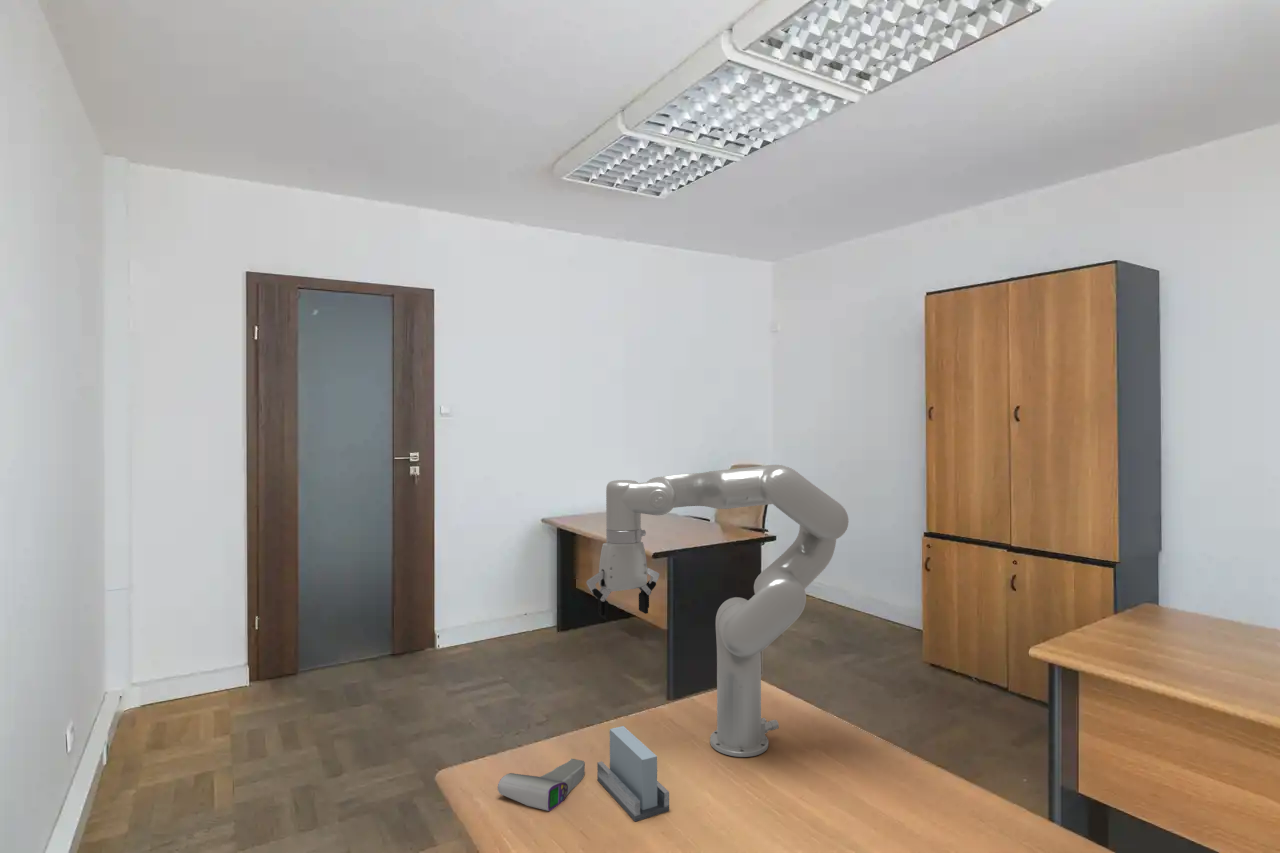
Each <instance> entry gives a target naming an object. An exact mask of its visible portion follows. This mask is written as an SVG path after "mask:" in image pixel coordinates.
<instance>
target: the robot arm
mask: <svg viewBox="0 0 1280 853" xmlns="http://www.w3.org/2000/svg"><path fill="white" fill-rule="evenodd" d="M605 490H606V491H605V492H606V493H605V494H606V495H605V497H606V500H605V501H606V502H605V506H606V507H605V508H606V510H605V511H606V512H605V514H606V516H605V517H606V518H605V519H606V520H605V522H606V530H605V531H606V534H605V535H606V542H604V543H602V547H601V552H600V557H599V558H600V559H599V567H598V573H596V574H595V575H593V576H592V577H590V578H589V579H587V580H586V582H585V583H586V585H587V588H588V590H590V593H591V594H592V595H593V596H594V597H595V599H597V612H598V613H597V614H598V615H599V618H601V619H603V620H605V621H606V620H607V621H608V620H609V601H608V597H609V596H610V594H611V592H619V591H627V590H633V589H638V590H640V592H639V593H638V610H639V612H641V613H643V614H649V608H650V595H652V591H653V590H654V589H655V587H656V586H657V581H658V580H659V577H660V573H659V572H658V571H655V570H653V569H651V568H649V567H648V566H647V565H648V564H647V555H646V550H645V545H644V542H642V537H645V536H646V535H647V532H646V530H645V529H642V528H641V527H642V523H641V522H642V521H641V518H642V516H641V515H642V514H644V515H648V516H649V515H650V516H664V515H666V514H667V515H668V514H669V513H670V512H671V511H672V510H673V509H675V508H685V507H706V508H707V507H708V508H710V509H711V508H712V509H718V510H720V509H721V510H729V509H739V508H746V507H754V506H765V505H766V506H767V505H768V506H769V505H773V506H774V507H776V508H777V509H778V510H779V511H781V512H782V513H784V515H786V516H787V517H788V518H790V519H791V520H792V521H793V522H795V523H796V524H798V525H799V529H798V534H797V537H796V538H795V540H794V541H793V543H792V544H791V545H790V546H789V547H788V548H787V549H786V550H785V551H784V552H783V553H782V554H781V555H779V557H778V558H776V559H775V560H774V561H773V562H772V563H771V564H770V565H769V566H767V567H766V568H765V569H764V570H763V571H761V572H760V574H758V576H757V577H756V579H755V580H754V583H753V592H754V595H752V596H751V598H749V599H747V598H743V597H737V596H735V597H730V598H728V599H726V600H725V601H724V602H722V604H721V605H720V606H719V608H718V609H717V612H716V616H715V637H716V710H717V711H716V724H717V725H716V726H717V727H716V729H715V730H714V731H713V732H712V733H711V734H710V737H709V743H710V745H711V747H712V748H713V749H714V750H715V751H717V752H719V753H720V754H723V755H726V756H731V757H737V758H749V757H755V756H758V755H761V754H763V753H765V751H767V750H768V748H769V738H768V736H766V734H767V733H768V732H770V731H774V730H778V729H779V726H780V723H779V722H778V720H777V719H772V720H768V721H767V719H766V717H762V651H764V650H765V649H766V648H768V646H770V645H772V643H773V642H774V641H776V639H778V638H779V637H780V636H781V635H782V634H783V633H785V632H786V631H787V629H789V627H790V626H792V625H793V624H794V623H795V622H796V621H797V620H798V619H799V618H800V616H801V614H803V611H804V610H805V607H806V603H807V593H806V589H807V588H808V587H809V585H811V583H813V582H814V581H815V579H817V578H818V576H820V575H821V573H822V572H824V570H825V569H826V568H827V566H828V565H829V564H830V562H831V560H832V558H833V556H834V554H835V553H834V552H835V549H836V544H837V540H838V539H839V538H841V537H842V536H843V535H845V533H846V532H847V530H848V527H849V515H848V513H847V511H846V508H844V506H843V505H842V504H841V503H840V502H838V501H837V500H835V499H834V498H833V497H832V496H830V495H828V494H827V493H825V492H824V491H823V490H821V489H820V488H819V487H818V486H816V485H815V484H813V483H812V482H811V481H809V480H808V479H807V478H806V477H804V476H803V475H802V474H800V473H799V472H798V471H796V470H795V469H793V468H792V467H789V466H786V465H783V464H768V465H758V466H748V467H740V468H739V467H738V468H730V469H729V468H728V469H721V470H720V469H719V470H712V471H711V470H710V471H705V472H704V471H703V472H694V473H685V474H684V473H683V474H674V475H673V474H672V475H663V476H657V477H652V478H650V479H649V480H647V481H646V482H645V481H644V482H638V481H636V480H632V479H617V480H611V481H609V482H608V483H607V485H606V489H605ZM648 576H650V578H649V580H648ZM597 583H598V586H599V587H600V588H599V589H598V588H597V586H596V585H597Z"/></svg>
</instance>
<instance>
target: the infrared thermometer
mask: <svg viewBox="0 0 1280 853" xmlns="http://www.w3.org/2000/svg"><path fill="white" fill-rule="evenodd" d="M585 764H586V762H585V761H584V760H583V759H582V760H581V759H576V758H570V759H569V760H568V761H567V762H565V763H563V764H561V765H559V766H556V767H555V768H554V769H553V770H551V771H549V772H547V773H545V774H543V775H540V776H536V775H528V774H527V775H526V774H520V773H514V772H510V773H506V774H505V775H503V776H502V777H501V779H500V780H499V781H498V783H497V791H498V793H499V794H500V795H502V796H504V797H506V798H508V799H511V800H513V801H515V802H518V803H520V804H522V805H525V806H527V807H530V808H533V809H539V810H543V811H546V812H551V811H552V810H554V809H555V808H556V807H558V806H559V805H561V804H562V803H563V802H564V801H565V798H566V797H567V796H568V794H570V792H571V791H572V790H573V789H575V787H577V785H578V784H580V783H581V782H582V780H583V778H584V777H585V773H586V772H585V770H586V769H585Z"/></svg>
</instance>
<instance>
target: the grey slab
mask: <svg viewBox="0 0 1280 853" xmlns="http://www.w3.org/2000/svg"><path fill="white" fill-rule="evenodd" d="M609 769H610V770H611V771H612V772H613V773H614V774H615V775H616V776H617V777H618V778H619V779H620V780H621V781H622V782H623V783H624V785H625V786H626V787H627V788H628V789H629V790H630V791H631V792H632V793H633V794H634V795H635V796H636V797H637V798H638V799H639V800H640V808H641V809H642V810H645V809H648V808H652V807H655V806H657V781H658V755H657V754H655V753H654V752H653V751H652V750H651V749H650V748H648V746H646V744H644V743H643V742H642V741H641V740H640V739H638V738H637V736H635V735H634V734H633V733H632V732H631V731H630V730H628V729H627V728H626V727H625V726H624V725H622V726H617V727H613V728H609Z"/></svg>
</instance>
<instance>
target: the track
mask: <svg viewBox="0 0 1280 853" xmlns="http://www.w3.org/2000/svg"><path fill="white" fill-rule="evenodd" d="M596 765H597V766H596V767H597V776H596V778H597V781H598V783H599V784H600V785H601V786H602V787H603V788H604V789H605V790H606V791H607V793H609V795H610V796H611V797H612V798H613V799H614V800H615V802H616V803H618V805H620V807H621V808H622V809H623V810H624V811H625V812H626V814H627V815H628V816H629V817H630V818H631V819H632V820H633V821H634V822H638V821H642V820H645V819H649V818H651V817H655V816H658V815H661V814H664V813H668V812H670V791H669V790H668V789H667V788H666V787H665V786H664V785H663V784H662V783H661V782H659V781H658V780H657V806H655V807H652V808H648V809H645V810H642V809H641V808H640V800H639V799H638V798H637V797H636V796H635V795H634V794H633V793H632V792H631V791H630V790H629V789H628V788H627V787H626V786H625V785H624V783H623V782H622V781H621V780H620V779H619V778H618V777H617V776H616V775H615V774H614V773H613V772H612V771H611V770H610V767H608V766H607V764H606V763H604V762H603V761H602V760H601V761H597V762H596Z"/></svg>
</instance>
